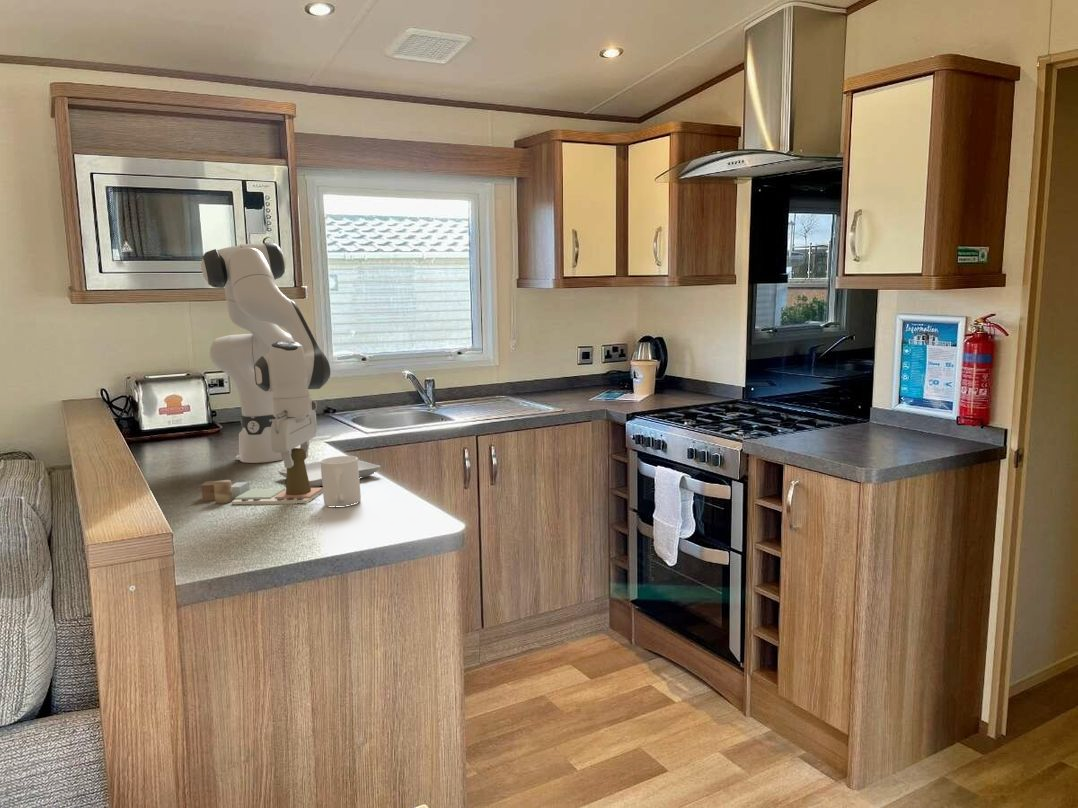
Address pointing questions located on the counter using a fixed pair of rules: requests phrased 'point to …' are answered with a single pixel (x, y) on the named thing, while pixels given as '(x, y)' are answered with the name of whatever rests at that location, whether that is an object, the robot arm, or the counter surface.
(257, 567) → the counter surface
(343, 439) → the counter surface
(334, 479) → the mug
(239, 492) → the soap box
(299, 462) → the pepper shaker
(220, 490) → the cork stopper
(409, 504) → the counter surface
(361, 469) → the salad plate
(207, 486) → the walnut cube
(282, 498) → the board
